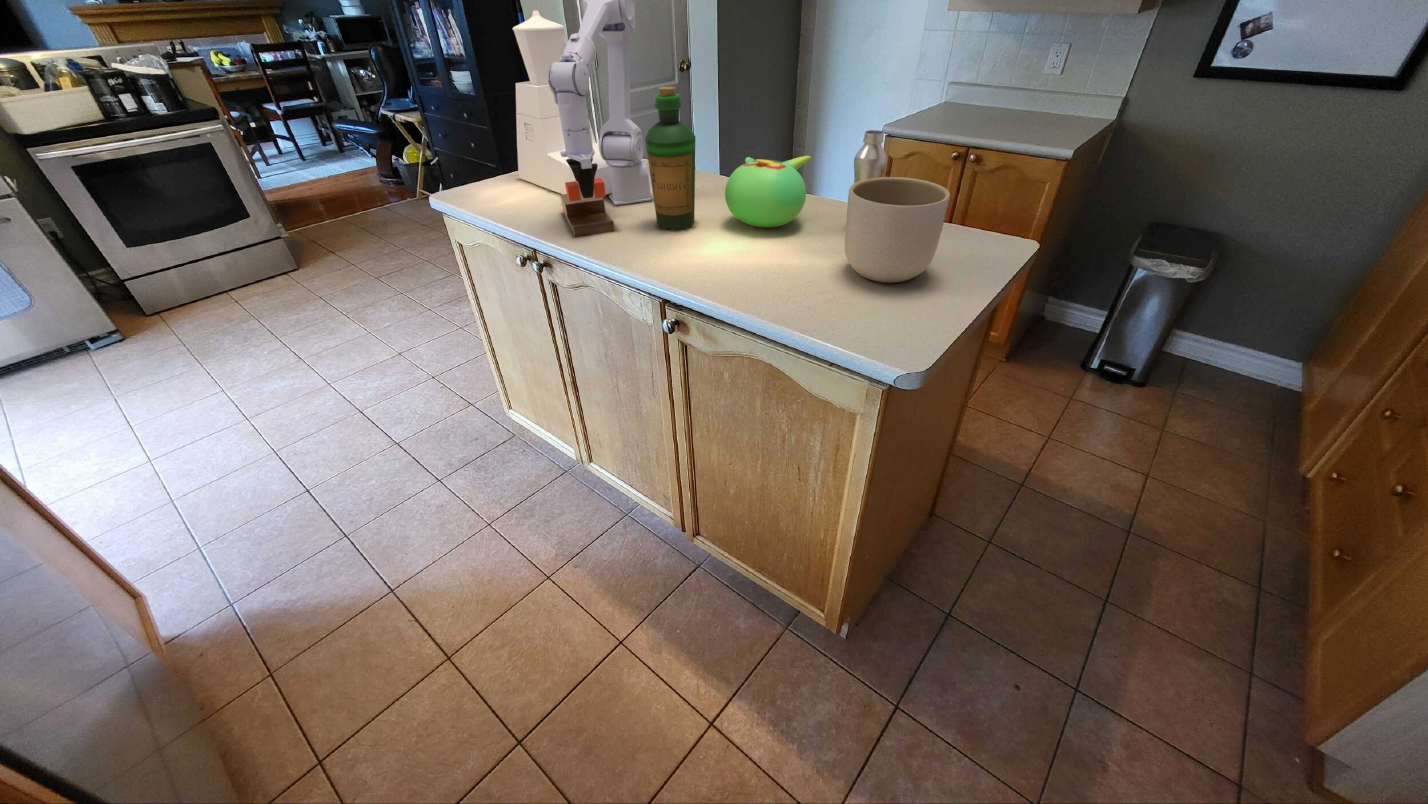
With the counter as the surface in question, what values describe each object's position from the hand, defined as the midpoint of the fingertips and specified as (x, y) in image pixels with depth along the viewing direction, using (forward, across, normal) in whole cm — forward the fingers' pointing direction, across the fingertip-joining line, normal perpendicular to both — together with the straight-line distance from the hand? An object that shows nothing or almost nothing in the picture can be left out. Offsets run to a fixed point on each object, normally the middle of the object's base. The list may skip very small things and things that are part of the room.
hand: (586, 194), depth 126 cm
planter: (+8, +47, +48) cm, 67 cm away
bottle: (+8, +6, +18) cm, 21 cm away
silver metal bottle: (+8, +26, +56) cm, 62 cm away
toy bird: (+8, +14, +38) cm, 41 cm away
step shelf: (+8, -4, 0) cm, 9 cm away
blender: (+8, -37, +3) cm, 38 cm away
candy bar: (0, 0, 0) cm, 0 cm away
